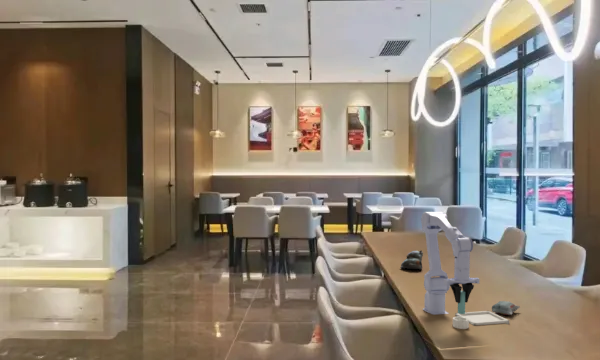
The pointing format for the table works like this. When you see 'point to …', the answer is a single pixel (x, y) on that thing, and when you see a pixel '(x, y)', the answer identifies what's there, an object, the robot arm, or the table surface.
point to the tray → (483, 318)
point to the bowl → (460, 322)
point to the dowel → (461, 303)
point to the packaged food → (504, 308)
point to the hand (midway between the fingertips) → (461, 302)
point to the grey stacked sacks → (413, 260)
